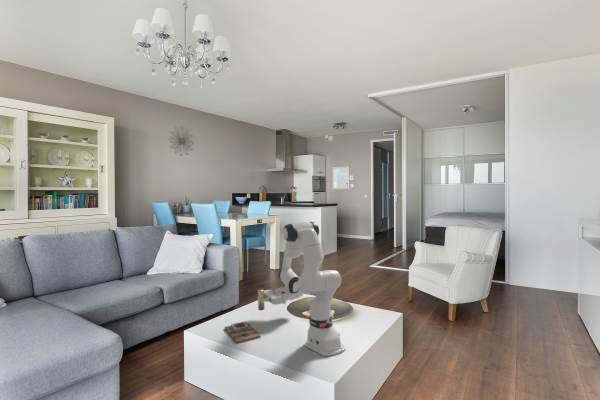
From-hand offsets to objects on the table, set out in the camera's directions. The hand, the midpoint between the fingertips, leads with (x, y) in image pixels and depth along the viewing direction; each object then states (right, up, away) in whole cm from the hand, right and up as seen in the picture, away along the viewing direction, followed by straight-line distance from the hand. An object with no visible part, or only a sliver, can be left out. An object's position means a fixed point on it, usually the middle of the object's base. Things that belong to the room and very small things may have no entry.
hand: (259, 298), depth 211 cm
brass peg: (+1, -7, +1) cm, 7 cm away
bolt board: (-9, -16, -14) cm, 23 cm away
